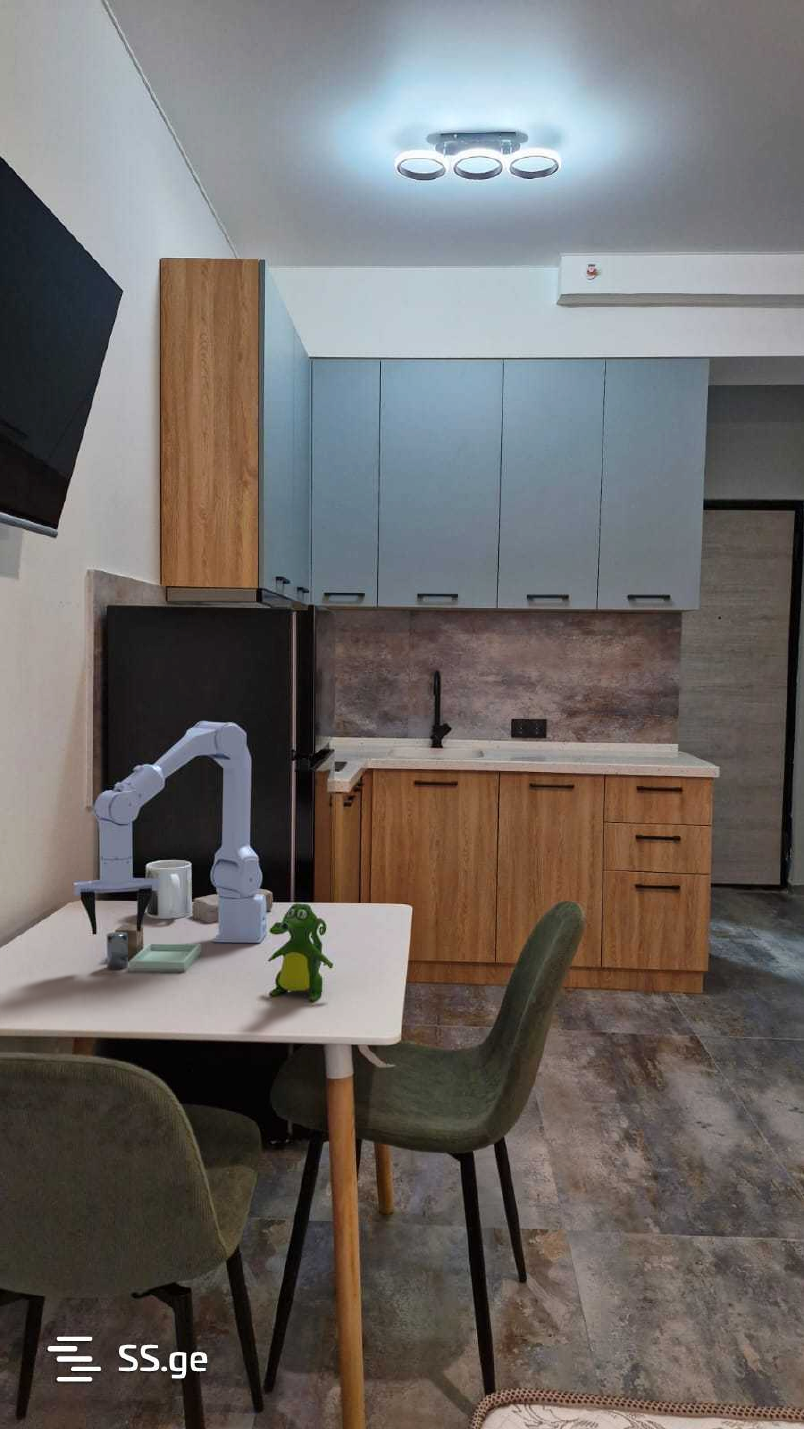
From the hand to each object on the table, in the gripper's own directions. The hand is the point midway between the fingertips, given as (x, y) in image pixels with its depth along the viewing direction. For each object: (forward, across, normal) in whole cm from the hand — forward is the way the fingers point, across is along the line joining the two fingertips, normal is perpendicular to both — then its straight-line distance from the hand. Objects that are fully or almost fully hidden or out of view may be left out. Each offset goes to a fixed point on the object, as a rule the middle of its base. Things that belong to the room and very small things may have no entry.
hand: (116, 931), depth 183 cm
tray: (+6, -9, -1) cm, 11 cm away
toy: (+7, -29, +24) cm, 38 cm away
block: (+7, -2, -7) cm, 10 cm away
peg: (+6, 0, 0) cm, 7 cm away
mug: (+7, -12, -37) cm, 39 cm away
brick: (+7, -25, -34) cm, 43 cm away
